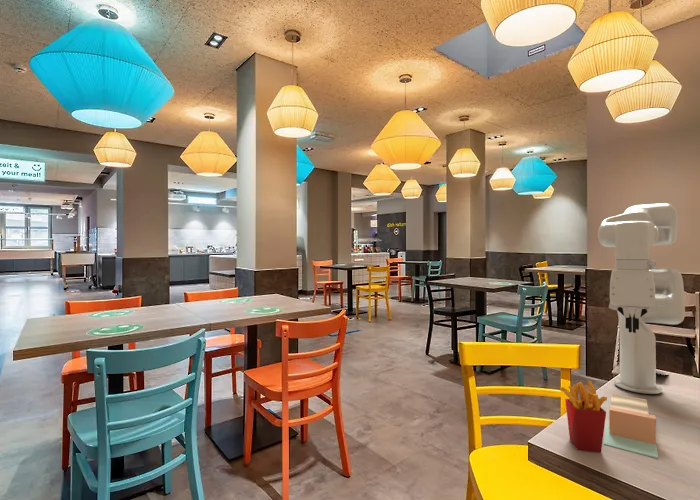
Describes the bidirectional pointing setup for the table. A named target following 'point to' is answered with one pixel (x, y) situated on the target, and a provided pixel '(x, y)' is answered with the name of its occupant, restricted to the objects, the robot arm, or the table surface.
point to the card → (632, 425)
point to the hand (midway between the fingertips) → (632, 331)
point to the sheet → (629, 403)
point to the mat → (630, 444)
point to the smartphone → (660, 372)
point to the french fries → (585, 417)
